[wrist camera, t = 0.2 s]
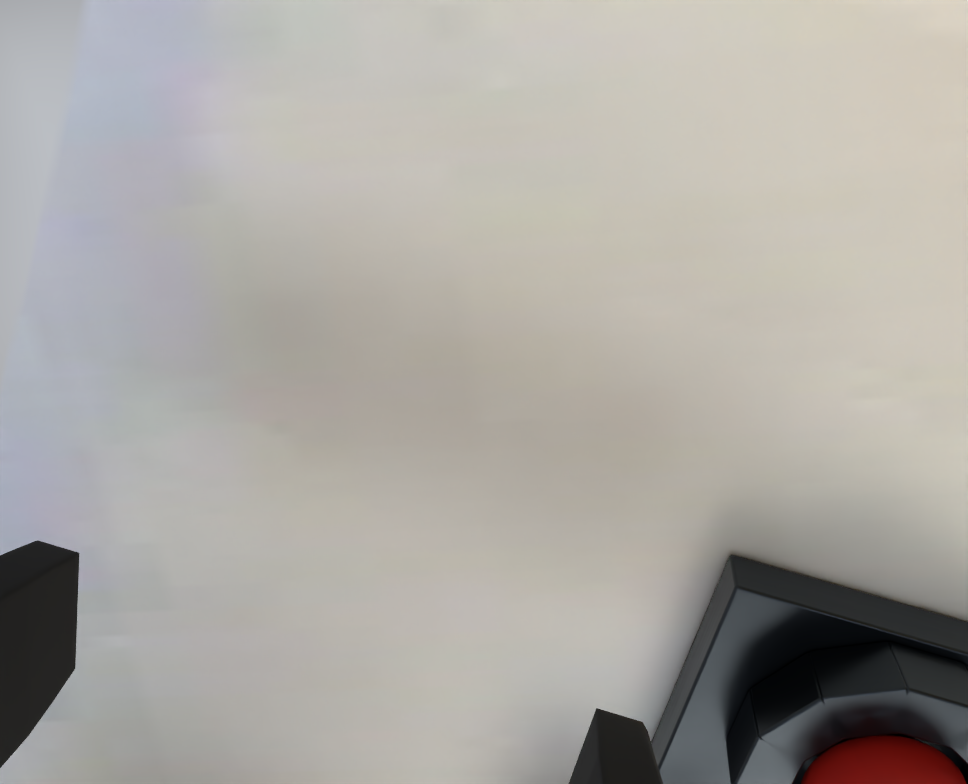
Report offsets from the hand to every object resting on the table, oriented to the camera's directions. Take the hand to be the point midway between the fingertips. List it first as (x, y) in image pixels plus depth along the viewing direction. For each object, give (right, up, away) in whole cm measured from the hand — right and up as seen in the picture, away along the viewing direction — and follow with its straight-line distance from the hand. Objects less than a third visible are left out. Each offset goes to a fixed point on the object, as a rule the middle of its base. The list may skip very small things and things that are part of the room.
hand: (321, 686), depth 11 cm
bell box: (+12, -4, +11) cm, 16 cm away
